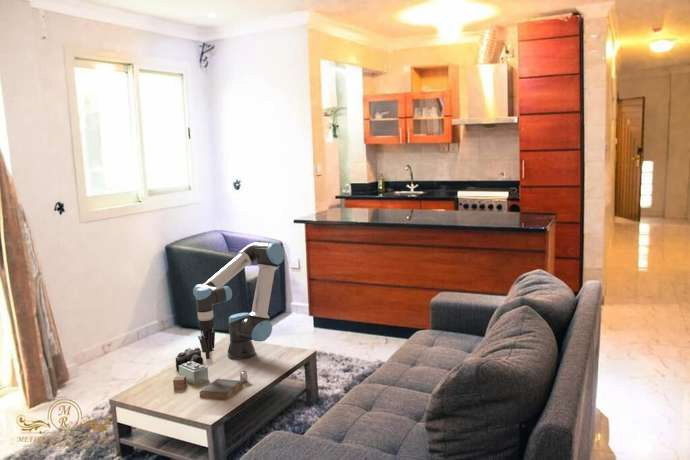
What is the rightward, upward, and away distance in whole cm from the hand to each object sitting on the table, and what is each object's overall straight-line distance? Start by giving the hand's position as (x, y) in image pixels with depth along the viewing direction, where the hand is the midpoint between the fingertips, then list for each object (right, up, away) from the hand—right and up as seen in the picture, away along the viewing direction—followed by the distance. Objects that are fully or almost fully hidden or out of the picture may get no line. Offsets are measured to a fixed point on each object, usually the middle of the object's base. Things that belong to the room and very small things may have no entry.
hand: (209, 364), depth 287 cm
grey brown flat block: (+9, -10, -14) cm, 19 cm away
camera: (-14, -7, +20) cm, 26 cm away
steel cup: (+18, -8, -3) cm, 20 cm away
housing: (-9, -9, +4) cm, 13 cm away
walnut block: (-13, -10, -7) cm, 17 cm away
